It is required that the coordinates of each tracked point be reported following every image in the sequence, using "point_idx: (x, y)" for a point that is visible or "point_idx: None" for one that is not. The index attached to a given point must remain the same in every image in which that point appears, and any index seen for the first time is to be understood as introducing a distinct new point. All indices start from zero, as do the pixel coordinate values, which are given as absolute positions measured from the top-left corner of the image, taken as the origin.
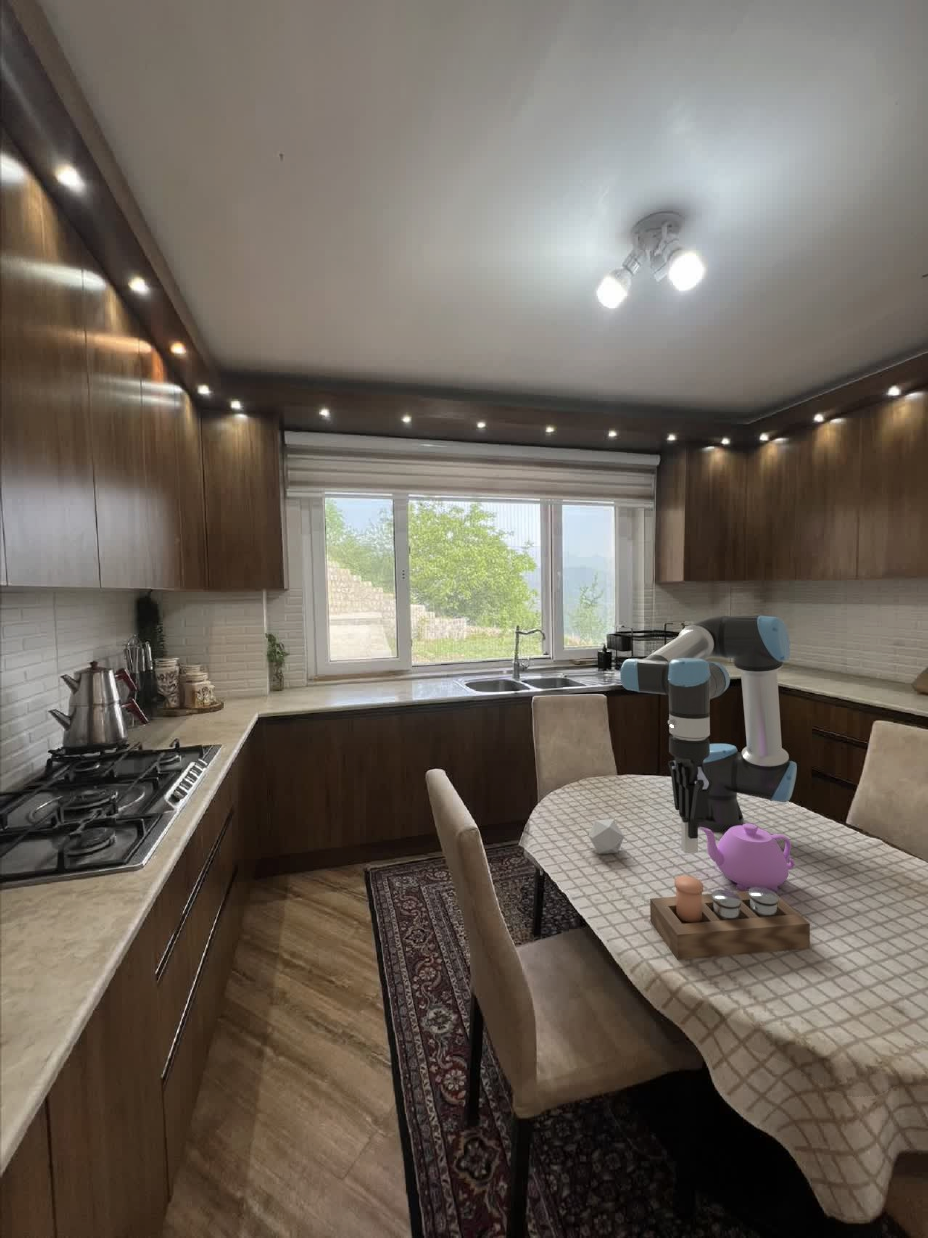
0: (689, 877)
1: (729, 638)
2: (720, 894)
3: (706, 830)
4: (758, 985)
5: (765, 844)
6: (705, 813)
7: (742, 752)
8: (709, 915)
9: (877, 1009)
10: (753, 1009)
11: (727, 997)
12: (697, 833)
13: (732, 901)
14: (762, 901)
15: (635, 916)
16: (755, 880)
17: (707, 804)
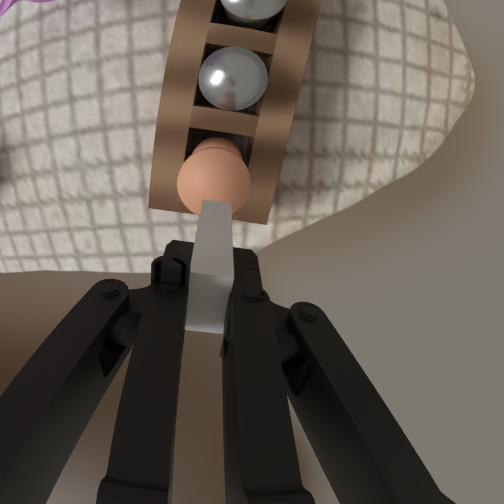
0: (189, 165)
1: None
2: (218, 83)
3: (12, 1)
4: (349, 130)
5: None
6: (347, 353)
7: None
8: (236, 126)
9: (429, 33)
10: (375, 174)
11: (347, 189)
12: (258, 266)
13: (254, 78)
14: (276, 13)
15: (139, 207)
16: None
17: (385, 404)
